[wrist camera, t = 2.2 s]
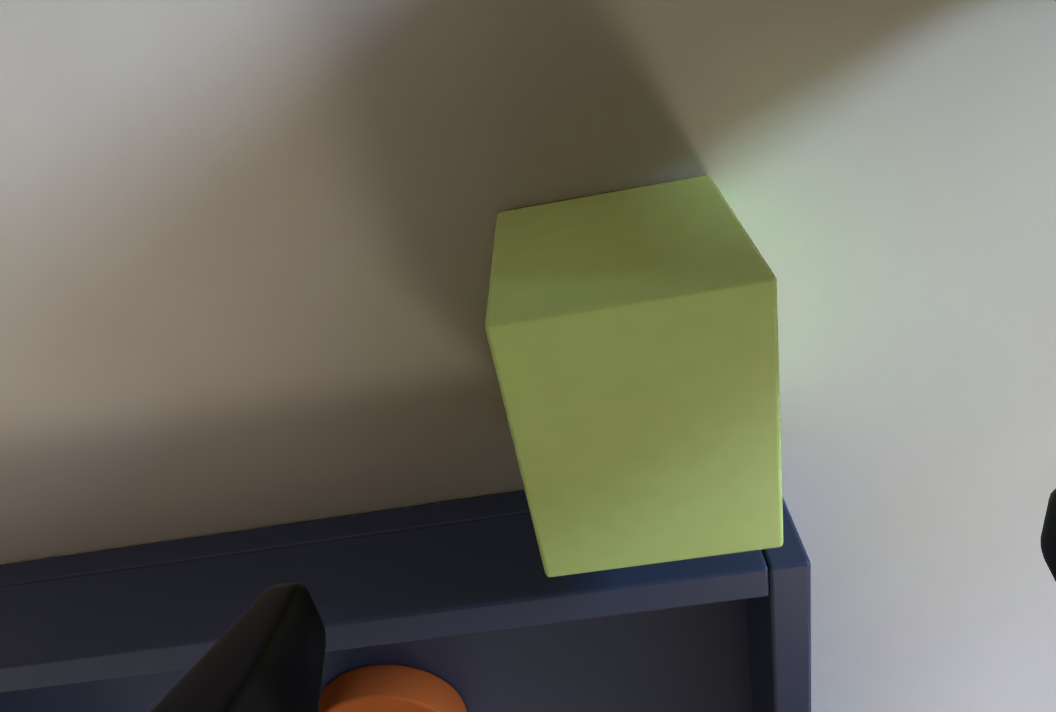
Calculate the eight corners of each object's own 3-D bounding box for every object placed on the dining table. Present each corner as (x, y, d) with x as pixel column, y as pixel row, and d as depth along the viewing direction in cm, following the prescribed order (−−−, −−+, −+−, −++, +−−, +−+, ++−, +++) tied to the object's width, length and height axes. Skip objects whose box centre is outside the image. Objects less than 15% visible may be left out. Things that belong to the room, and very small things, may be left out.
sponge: (710, 173, 14) (777, 276, 10) (725, 397, 17) (784, 548, 13) (496, 210, 15) (482, 324, 11) (542, 425, 17) (545, 580, 13)
